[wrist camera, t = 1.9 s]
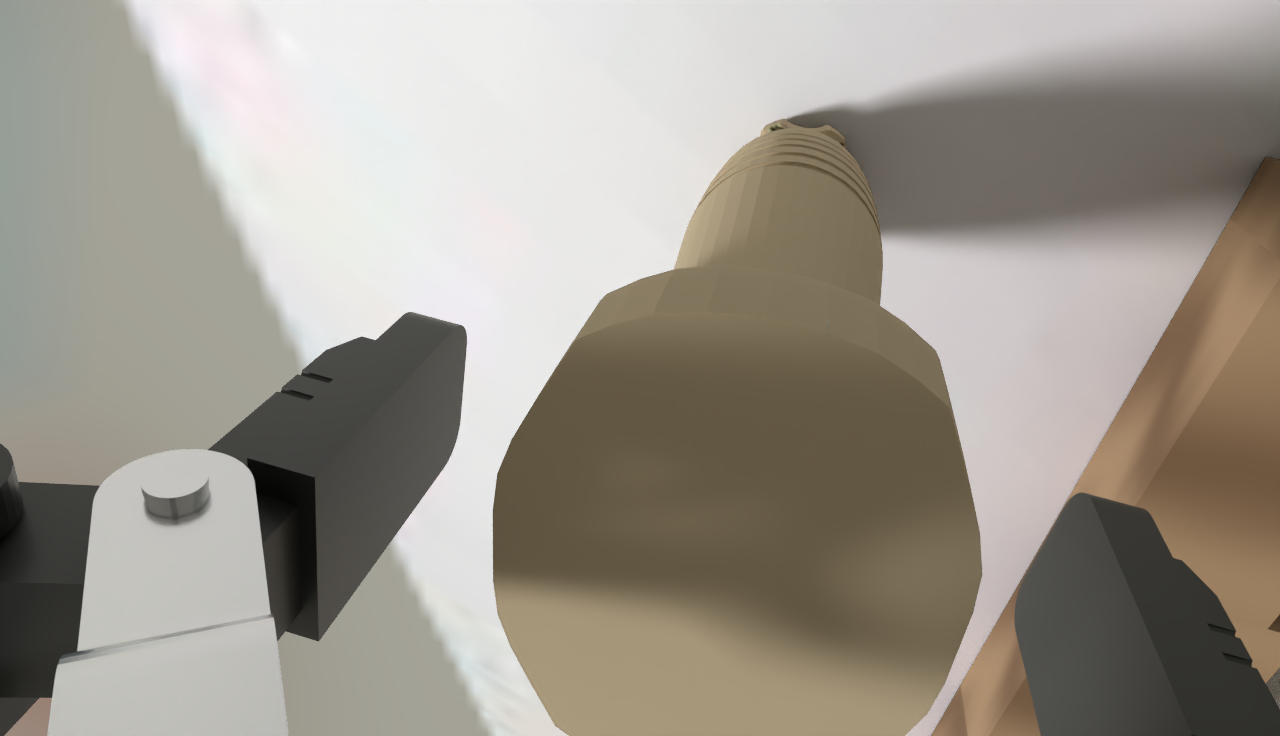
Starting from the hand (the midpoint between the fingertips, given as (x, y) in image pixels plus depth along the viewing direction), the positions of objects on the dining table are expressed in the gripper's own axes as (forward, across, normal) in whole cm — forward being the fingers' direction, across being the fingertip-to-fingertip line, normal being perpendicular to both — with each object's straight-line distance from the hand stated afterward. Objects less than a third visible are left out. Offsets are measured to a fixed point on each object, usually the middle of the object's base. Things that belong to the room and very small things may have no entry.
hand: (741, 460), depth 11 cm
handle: (+12, 0, 0) cm, 13 cm away
